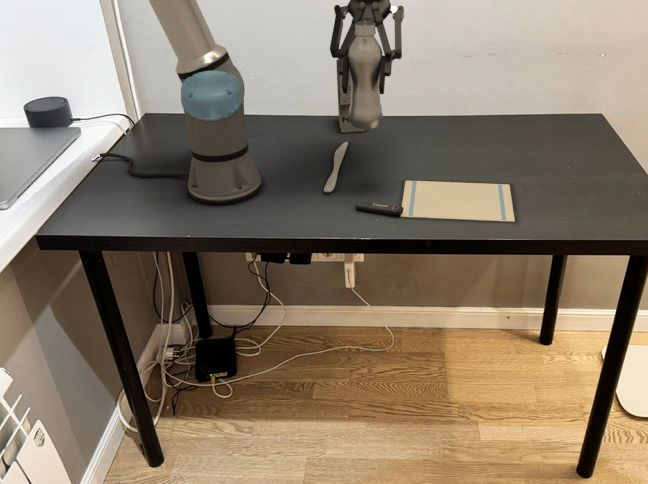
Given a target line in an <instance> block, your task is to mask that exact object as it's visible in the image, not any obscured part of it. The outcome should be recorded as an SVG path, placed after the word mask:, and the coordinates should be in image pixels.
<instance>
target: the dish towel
mask: <svg viewBox="0 0 648 484" xmlns="http://www.w3.org/2000/svg"><path fill="white" fill-rule="evenodd" d="M511 192H512V191H511V185H510V184H509V183H508V184H507V183H506V184H505V183H481V182H480V183H478V182H456V181H455V182H453V181H430V180H429V181H428V180H405V182H404V188H403V195H402V202H401V206H402V207H403V212H402V214H401V215H399V217H400V218H412V219H413V218H415V219H437V220H456V221H457V220H458V221H460V220H461V221H479V222H482V221H483V222H502V223H503V222H504V223H515V222H516V221H515V213H514V206H513V199H512V193H511Z"/></svg>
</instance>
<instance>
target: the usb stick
mask: <svg viewBox="0 0 648 484" xmlns="http://www.w3.org/2000/svg"><path fill="white" fill-rule="evenodd" d="M355 208H356V209H357V210H359V211H367V212H372V213H379V214H387V215H395V216H400V215H401V214H402V212H403V207H402V205H399V204H393V203H392V204H391V203H385V202H377V201H372V200H371V201H370V200H364V199H359V200H358V201H357V202H356V204H355Z"/></svg>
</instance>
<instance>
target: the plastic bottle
mask: <svg viewBox="0 0 648 484" xmlns="http://www.w3.org/2000/svg"><path fill="white" fill-rule="evenodd" d="M376 34H377V31H376V27H375V23H374V22H370V21H361V22H356V23H355V35H356V38H355V39H354V40H353V42H352V43H351V45H350V47H349V49H348V60H349V66H350V72H351V81H352V82H351V86H352V90H351V104H350V109H349V118H350V122H351V124H352V125H353V126H354V127H355V128H358V129H365V130H372V129H377V128H378V127H379V126H380V125H381V123H382V121H383V107H382V103H381V94H380V91H379V79H380V66H381V59H382V55H383V48H382V46H381V45H380V43H379V41H378V40H377V39H376V37H375V35H376Z"/></svg>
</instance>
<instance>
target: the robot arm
mask: <svg viewBox="0 0 648 484" xmlns="http://www.w3.org/2000/svg"><path fill="white" fill-rule="evenodd" d="M148 2H149V3H150V6H151V8H152V11H153V12H154V14H155V16H156V18H157V20H158V22H159V24H160V26H161V28H162V30H163V31H164V34H165V36H166V38H167V40H168V42H169V44H170V46H171V49H172V50H173V51H174V54H175V56H176V58H177V62H176V66H175V72H176V74H177V77H178V79H179V80H180V83H181V85H180V101H181V102H180V103H181V105H182V108H183V114H184V120H185V125H186V131H187V137H188V143H189V149H190V153H191V162H190V168H189V172H167V171H166V172H165V171H164V172H150V173H149V172H148V173H147V172H145V173H144V172H136V171H134V170H133V166H134V161H133V159H132V158H131V157H129V156H127V155H123V154H120V153H112V152H103V153H102V152H101V153H99V154H100V157H97V158H96V159H95V160H94V161H93V162H95V161H97V160H98V159H99V158H105V157H111V158H117V159H122V160H125V161H128V166H127V171H128V173H129V174H130V175H131V176H133V177H138V178H154V177H155V178H156V177H157V178H159V177H184V178H185V177H187V178H188V180H187V188H188V194H189V196H190V198H192V199H193V200H194V201H196V202H199V203H202V204H206V205H229V204H235V203H239V202H242V201H245V200H248V199H250V198H252V197H254V196H256V195H257V194H258V193H259V192H260V191H261V188H262V178H261V175H260V172H259V170H258V168H257V165H256V164H255V162H254V159H253V158H252V156H251V155H252V154H251V153H250V149H249V144H248V143H249V141H248V135H247V126H246V118H245V117H246V116H245V91H246V89H245V82H244V79H243V76H242V74H241V72H240V70H239V69H238V67H236V65H234V63H233V61H232V58H231V57H230V54H229V52H228V50H227V48H226V47H225V46H223V45H220V44H218V43H216V41H215V38H214V36H213V33H212V32H211V30H210V28H209V25H208V24H207V21H206V19H205V16H204V15H203V12H202V10H201V8H200V6H199V3H198V1H197V0H148ZM333 10H334V14H335V18H334V24H333V29H332V32H331V33H332V35H331V40H330V45H329V51H330V55H331V58H333V59H337V60H338V59H339V60H338V72H339V75H343V77H342V90H343V93H347V91H348V80H349V68H350V66H349V60H348V49H349V47H350V45H351V43H352V42H353V40H354V39H355V38H356V35H355V23H356V22H361V21H370V22H374V23H375V28H376V30H377V31H376V32H377V33H378V37H379V40H380V44H381V48H382V52H383V54H384V55H383V54H382V59H381V66H380V79H379V91H380V95H385V84H386V77H391V75H392V68H393V67H392V66H393V62H394V61H395V60H401V59H402V57H403V50H402V49H403V44H402V43H403V41H402V23H403V21H404V18H405V7H404V6H403V5H399V6H393V5H392V3H391V2H390V0H349V2H348V3H347V5H343V6H341V5H339V4H335V5H334V6H333ZM348 13H349V14H350V15H349V16H351V18H352V19H351V24H350V25H349V28H348V30H347V32H346V34H345V37H344V39H343V42H342V43H341V39H342V35H343V34H342V33H343V27H344V20H345V19H346V18H347V15H348ZM390 14H391V17H392V19H393V20H394V49H391V45H390V42H389V38H388V35H387V31H386V28H385V24H384V21H385V19H387V18H388V16H389V15H390ZM340 44H341V46H340ZM109 256H110V259H111V262H112V266H113V267H115V265H114V259H113V257H112V254H110V255H109ZM113 270H114V271H116V270H115V268H114V269H113Z"/></svg>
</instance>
